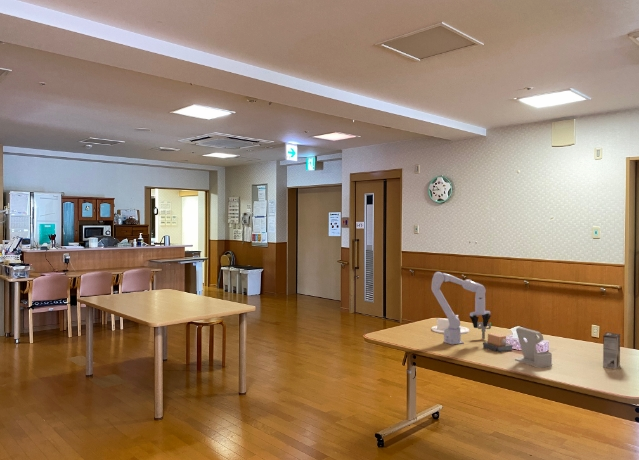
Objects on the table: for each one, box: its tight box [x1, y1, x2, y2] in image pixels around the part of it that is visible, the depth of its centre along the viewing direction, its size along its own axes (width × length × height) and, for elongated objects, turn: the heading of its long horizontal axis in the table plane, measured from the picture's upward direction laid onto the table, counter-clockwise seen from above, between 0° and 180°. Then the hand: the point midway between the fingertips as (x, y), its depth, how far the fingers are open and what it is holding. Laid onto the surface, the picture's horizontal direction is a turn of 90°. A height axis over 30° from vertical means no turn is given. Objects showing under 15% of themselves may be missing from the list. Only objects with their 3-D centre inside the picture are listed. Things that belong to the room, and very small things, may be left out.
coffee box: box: [602, 331, 621, 370], centre depth 253 cm, size 9×6×16 cm
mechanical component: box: [476, 321, 493, 340], centre depth 313 cm, size 3×10×10 cm, turn 89°
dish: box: [431, 314, 470, 335], centre depth 337 cm, size 25×25×11 cm
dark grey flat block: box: [482, 341, 514, 353], centre depth 288 cm, size 11×12×3 cm
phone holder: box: [514, 326, 553, 369], centre depth 260 cm, size 17×10×18 cm, turn 23°
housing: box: [487, 332, 507, 346], centre depth 288 cm, size 10×5×5 cm, turn 25°
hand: (480, 327), depth 300 cm, fingers open, 7 cm apart
